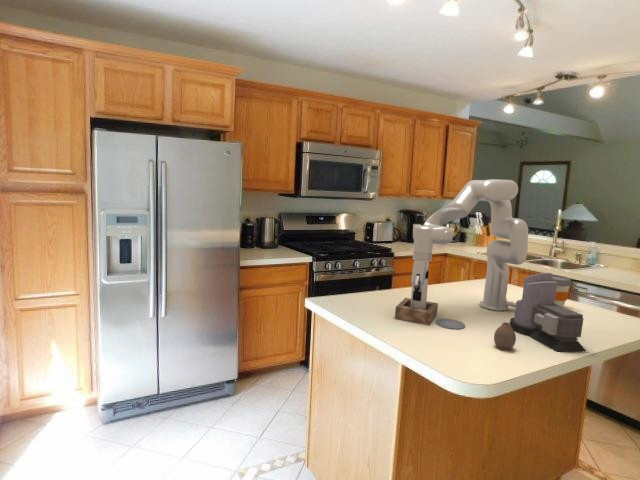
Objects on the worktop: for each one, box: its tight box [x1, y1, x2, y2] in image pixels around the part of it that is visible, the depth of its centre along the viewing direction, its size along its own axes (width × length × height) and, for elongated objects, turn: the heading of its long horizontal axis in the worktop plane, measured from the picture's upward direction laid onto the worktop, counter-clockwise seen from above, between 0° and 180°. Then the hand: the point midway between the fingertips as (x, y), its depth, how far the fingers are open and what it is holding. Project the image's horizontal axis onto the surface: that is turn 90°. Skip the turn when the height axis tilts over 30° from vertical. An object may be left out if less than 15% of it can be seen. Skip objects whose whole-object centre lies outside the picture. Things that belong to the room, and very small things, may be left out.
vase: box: [493, 322, 517, 351], centre depth 142 cm, size 7×7×9 cm
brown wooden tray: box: [394, 297, 439, 326], centre depth 171 cm, size 14×16×5 cm
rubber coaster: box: [435, 318, 466, 331], centre depth 164 cm, size 11×11×1 cm
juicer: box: [509, 272, 587, 353], centre depth 155 cm, size 30×16×24 cm, turn 11°
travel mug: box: [410, 270, 429, 310], centre depth 170 cm, size 6×7×20 cm
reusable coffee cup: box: [552, 274, 572, 308], centre depth 195 cm, size 13×13×15 cm
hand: (418, 298), depth 171 cm, fingers closed on travel mug, 6 cm apart
